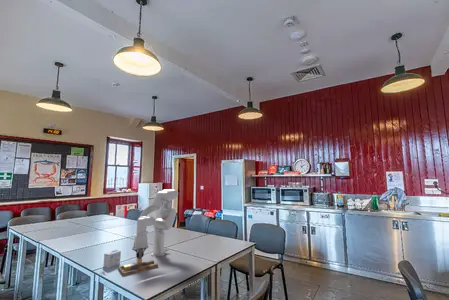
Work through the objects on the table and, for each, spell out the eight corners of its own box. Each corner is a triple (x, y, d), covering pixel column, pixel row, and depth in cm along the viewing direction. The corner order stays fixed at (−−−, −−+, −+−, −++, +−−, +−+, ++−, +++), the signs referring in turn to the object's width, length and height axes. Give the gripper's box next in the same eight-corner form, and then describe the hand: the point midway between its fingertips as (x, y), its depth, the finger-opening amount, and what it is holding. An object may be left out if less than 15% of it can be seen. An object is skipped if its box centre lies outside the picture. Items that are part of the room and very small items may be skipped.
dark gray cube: (134, 268, 171) (134, 263, 171) (135, 270, 168) (136, 264, 168) (128, 269, 168) (129, 264, 169) (130, 271, 165) (130, 265, 166)
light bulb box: (114, 263, 183) (115, 249, 184) (120, 264, 180) (121, 250, 182) (102, 268, 173) (103, 253, 175) (109, 269, 171) (110, 254, 172)
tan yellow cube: (128, 269, 168) (129, 264, 169) (130, 271, 165) (130, 265, 166) (123, 271, 166) (123, 265, 166) (124, 273, 163) (124, 267, 163)
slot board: (152, 263, 184) (152, 259, 184) (158, 268, 173) (158, 264, 173) (118, 270, 169) (118, 266, 169) (122, 277, 157) (122, 272, 158)
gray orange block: (140, 259, 186) (141, 246, 185) (141, 262, 182) (143, 249, 182) (136, 260, 184) (138, 247, 183) (137, 263, 180) (139, 250, 180)
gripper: (149, 231, 193) (148, 254, 190) (129, 233, 183) (128, 257, 180) (152, 233, 187) (151, 256, 184) (132, 235, 177) (130, 260, 174)
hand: (139, 256), depth 182 cm, fingers closed on gray orange block, 2 cm apart
